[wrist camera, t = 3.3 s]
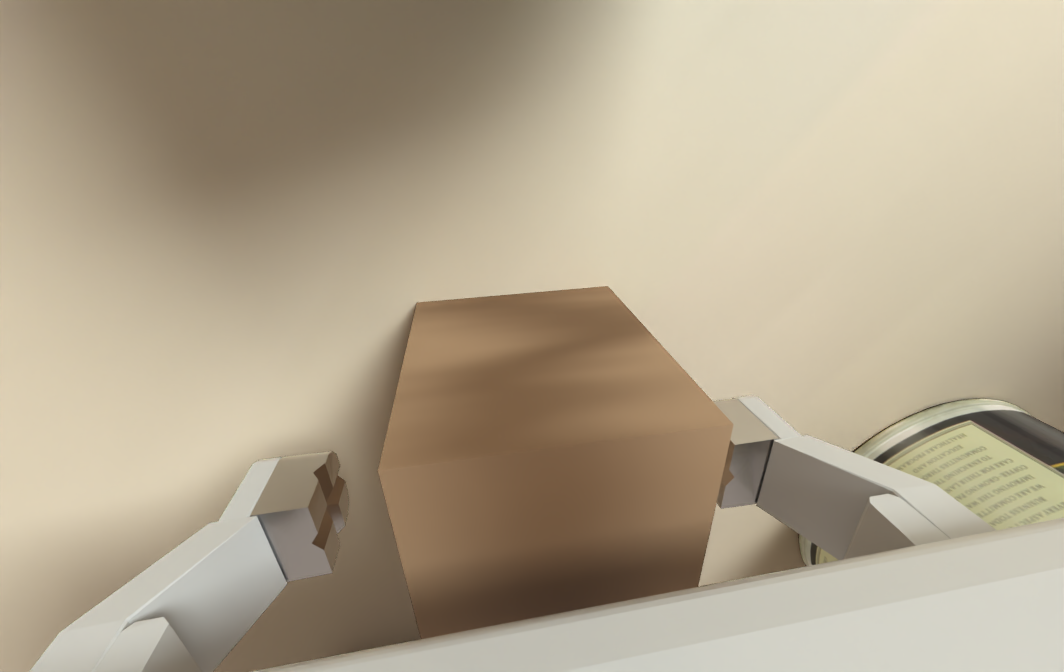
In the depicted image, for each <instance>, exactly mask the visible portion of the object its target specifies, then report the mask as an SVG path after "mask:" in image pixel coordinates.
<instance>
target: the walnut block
mask: <svg viewBox="0 0 1064 672" xmlns="http://www.w3.org/2000/svg"><path fill="white" fill-rule="evenodd" d="M733 425H734V424H733V423H732V422H731V421H730V420H729V419H728V418H727V417H726V416H725V414H724V413H723V412H722V411H721V410H720V409H719V408H718V407H717V406H716V405H715V403H714V402H713V401H712V400H711V399H710V398H709V397H708V396H707V395H706V394H705V392H704V391H703V390H702V389H701V388H700V387H699V386H698V385H697V384H696V383H695V381H694V380H693V379H692V378H691V377H690V376H689V375H688V374H687V373H686V372H685V370H684V369H683V368H682V367H681V366H680V365H679V364H678V363H677V362H676V361H675V359H674V358H673V357H672V356H671V355H670V354H669V353H668V352H667V351H666V350H665V348H664V347H663V346H662V345H661V344H660V343H659V342H658V341H657V340H656V339H655V337H654V336H653V335H652V334H651V333H650V332H649V331H648V330H647V329H646V328H645V326H644V325H643V324H642V323H641V322H640V321H639V320H638V319H637V318H636V317H635V316H634V314H633V313H632V312H631V311H630V310H629V309H628V308H627V307H626V306H625V305H624V303H623V302H622V301H621V300H620V299H619V298H618V297H617V296H616V295H615V294H614V292H613V291H612V290H611V289H610V288H609V287H608V286H605V287H593V288H581V289H570V290H558V291H547V292H535V293H523V294H512V295H500V296H489V297H477V298H465V299H454V300H442V301H431V302H419V303H417V304H416V309H415V313H414V317H413V322H412V326H411V330H410V335H409V339H408V343H407V347H406V352H405V356H404V360H403V365H402V369H401V373H400V377H399V382H398V386H397V390H396V395H395V399H394V403H393V408H392V412H391V416H390V420H389V425H388V429H387V433H386V438H385V442H384V446H383V450H382V455H381V459H380V463H379V468H378V474H379V477H380V481H381V485H382V489H383V493H384V497H385V501H386V505H387V509H388V513H389V516H390V520H391V524H392V528H393V532H394V536H395V540H396V544H397V548H398V551H399V555H400V559H401V563H402V567H403V571H404V575H405V579H406V583H407V587H408V590H409V594H410V598H411V602H412V606H413V610H414V614H415V618H416V622H417V625H418V629H419V633H420V637H421V639H425V638H430V637H435V636H441V635H446V634H451V633H457V632H462V631H467V630H472V629H478V628H483V627H488V626H494V625H499V624H504V623H510V622H515V621H520V620H525V619H531V618H536V617H541V616H547V615H552V614H557V613H562V612H568V611H573V610H578V609H584V608H589V607H594V606H600V605H605V604H610V603H615V602H621V601H626V600H631V599H637V598H642V597H647V596H652V595H658V594H663V593H668V592H673V591H679V590H684V589H689V588H694V587H698V585H699V580H700V575H701V571H702V566H703V562H704V557H705V553H706V548H707V543H708V539H709V534H710V530H711V525H712V521H713V516H714V511H715V507H716V502H717V498H718V493H719V489H720V484H721V480H722V475H723V470H724V466H725V461H726V457H727V452H728V448H729V443H730V438H731V434H732V429H733Z"/></svg>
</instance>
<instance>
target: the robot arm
mask: <svg viewBox="0 0 1064 672" xmlns="http://www.w3.org/2000/svg"><path fill="white" fill-rule="evenodd" d="M713 402H714V403H715V405H716V406H717V407H718V408H719V409H720V410H721V411H722V412H723V413H724V414H725V416H726V417H727V418H728V419H729V420H730V421H731V422H732V423H733V424H734V425H733V429H732V434H731V438H730V443H729V448H728V452H727V457H726V461H725V466H724V470H723V475H722V480H721V484H720V489H719V493H718V498H717V504H718V505H719V507H720V508H729V507H736V506H744V505H751V504H757V505H756V506H758V507H759V508H761V509H762V510H764V511H765V512H767V513H768V514H770V515H771V516H773V517H774V518H776V519H777V520H779V521H780V522H782V523H783V524H785V525H787V526H788V527H790V528H791V529H793V530H794V531H796V532H797V533H799V534H800V535H802V536H803V537H805V538H806V539H808V540H809V541H811V542H812V543H814V544H815V545H817V546H818V547H820V548H821V549H823V550H824V551H826V552H827V553H829V554H830V555H832V556H833V557H835V558H836V559H838V560H837V561H832V562H826V563H821V564H816V565H810V566H805V567H800V568H795V569H789V570H784V571H779V572H773V573H768V574H763V575H757V576H752V577H747V578H742V579H736V580H731V581H726V582H721V583H715V584H710V585H705V586H700V587H694V588H689V589H684V590H679V591H673V592H668V593H663V594H658V595H652V596H647V597H642V598H637V599H631V600H626V601H621V602H615V603H610V604H605V605H600V606H594V607H589V608H584V609H578V610H573V611H568V612H562V613H557V614H552V615H547V616H541V617H536V618H531V619H525V620H520V621H515V622H510V623H504V624H499V625H494V626H488V627H483V628H478V629H472V630H467V631H462V632H457V633H451V634H446V635H441V636H435V637H430V638H425V639H420V640H414V641H409V642H404V643H399V644H393V645H388V646H383V647H377V648H372V649H367V650H362V651H356V652H351V653H346V654H340V655H335V656H330V657H325V658H319V659H314V660H309V661H304V662H298V663H293V664H288V665H282V666H277V667H272V668H267V669H261V670H256V671H251V672H1064V518H1059V519H1054V520H1049V521H1043V522H1038V523H1033V524H1028V525H1022V526H1017V527H1012V528H1006V529H1001V530H996V529H994V528H993V527H992V526H990V525H989V524H988V523H986V522H985V521H984V520H982V519H981V518H980V517H978V516H977V515H976V514H974V513H973V512H972V511H970V510H969V509H968V508H966V507H965V506H964V505H962V504H961V503H960V502H958V501H957V500H956V499H954V498H953V497H952V496H950V495H949V494H947V493H946V492H945V491H943V490H942V489H941V488H939V487H938V486H937V485H935V484H933V483H930V482H928V481H925V480H923V479H920V478H918V477H915V476H912V475H910V474H907V473H905V472H902V471H900V470H897V469H894V468H892V467H889V466H887V465H884V464H881V463H879V462H876V461H874V460H871V459H869V458H866V457H863V456H861V455H858V454H856V453H853V452H851V451H848V450H845V449H843V448H840V447H838V446H835V445H832V444H830V443H827V442H825V441H822V440H820V439H817V438H814V437H812V436H809V435H805V436H801V435H800V434H799V433H798V432H797V431H796V430H795V429H794V428H792V427H791V426H790V425H789V424H788V423H787V422H786V421H785V420H783V419H782V418H781V417H780V416H779V415H778V414H777V413H776V412H774V411H773V410H772V409H771V408H770V407H769V406H768V405H766V404H765V403H764V402H763V401H762V400H761V399H760V398H759V397H757V396H754V395H747V396H741V397H735V398H732V399H725V400H718V401H713ZM339 468H340V463H339V460H338V457H337V454H336V453H334V452H333V451H329V452H319V453H310V454H301V455H292V456H284V457H277V458H268V459H260V460H258V461H256V462H254V463H253V464H252V466H251V467H250V469H249V471H248V472H247V474H246V476H245V477H244V479H243V481H242V482H241V484H240V486H239V487H238V489H237V491H236V492H235V494H234V496H233V497H232V499H231V500H230V502H229V504H228V505H227V507H226V509H225V510H224V512H223V514H222V515H221V517H220V519H219V520H218V522H212V523H209V524H207V525H206V526H204V527H203V528H202V529H200V530H199V531H198V532H196V533H195V534H194V535H192V536H191V537H189V538H188V539H187V540H185V541H184V542H183V543H181V544H180V545H178V546H177V547H176V548H174V549H173V550H172V551H170V552H169V553H168V554H166V555H165V556H163V557H162V558H161V559H159V560H158V561H157V562H155V563H154V564H152V565H151V566H150V567H148V568H147V569H146V570H144V571H143V572H141V573H140V574H139V575H137V576H136V577H135V578H133V579H132V580H131V581H129V582H128V583H126V584H125V585H124V586H122V587H121V588H120V589H118V590H117V591H115V592H114V593H113V594H111V595H110V596H109V597H107V598H106V599H104V600H103V601H102V602H100V603H99V604H98V605H96V606H95V607H94V608H92V609H91V610H89V611H88V612H87V613H85V614H84V615H83V616H81V617H80V618H78V619H77V620H76V621H74V622H73V623H72V624H70V625H69V626H68V627H66V628H65V629H63V630H62V631H61V632H60V633H59V634H58V635H57V636H56V638H55V639H54V640H53V642H52V643H51V644H50V645H49V647H48V648H47V649H46V651H45V652H44V653H43V654H42V656H41V657H40V658H39V659H38V661H37V662H36V663H35V665H34V666H33V667H32V668H31V670H30V671H29V672H213V671H214V670H215V669H216V668H217V667H218V665H219V664H220V663H221V662H222V661H223V659H224V658H225V657H226V656H227V655H228V654H229V652H230V651H231V650H232V649H233V648H234V646H235V645H236V644H237V643H238V642H239V641H240V639H241V638H242V637H243V636H244V635H245V634H246V632H247V631H248V630H249V629H250V628H251V626H252V625H253V624H254V623H255V622H256V621H257V619H258V618H259V617H260V616H261V615H262V614H263V612H264V611H265V610H266V609H267V608H268V606H269V605H270V604H271V603H272V602H273V601H274V599H275V598H276V597H277V596H278V595H279V594H280V592H281V591H282V590H283V589H284V588H285V586H286V585H287V582H289V581H294V580H299V579H304V578H309V577H314V576H320V575H325V574H330V573H332V572H333V569H334V565H335V562H336V558H337V554H338V551H339V547H340V541H339V538H338V535H337V534H338V533H339V532H340V531H341V530H342V529H343V528H344V527H345V525H346V521H347V517H348V510H349V496H348V489H347V485H346V482H345V481H344V480H343V479H342V478H340V477H339V476H337V474H338V471H339Z"/></svg>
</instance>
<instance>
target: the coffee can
mask: <svg viewBox="0 0 1064 672" xmlns="http://www.w3.org/2000/svg"><path fill="white" fill-rule="evenodd" d="M853 453H856V454H858V455H861V456H863V457H866V458H869V459H871V460H874V461H876V462H879V463H881V464H884V465H887V466H889V467H892V468H894V469H897V470H900V471H902V472H905V473H907V474H910V475H912V476H915V477H918V478H920V479H923V480H925V481H928V482H930V483H933V484H935V485H937V486H938V487H939V488H941V489H942V490H943V491H945V492H946V493H947V494H949V495H950V496H952V497H953V498H954V499H956V500H957V501H958V502H960V503H961V504H962V505H964V506H965V507H966V508H968V509H969V510H970V511H972V512H973V513H974V514H976V515H977V516H978V517H980V518H981V519H982V520H984V521H985V522H986V523H988V524H989V525H990V526H992V527H993V528H994V529H996V530H1001V529H1006V528H1012V527H1017V526H1022V525H1028V524H1033V523H1038V522H1043V521H1049V520H1054V519H1059V518H1064V433H1063V432H1061V431H1059V430H1057V429H1056V428H1054V427H1052V426H1050V425H1048V424H1046V423H1044V422H1042V421H1040V420H1038V419H1036V418H1034V417H1032V416H1031V415H1030V414H1029V413H1028V412H1026V411H1024V410H1023V409H1021V408H1020V407H1018V406H1016V405H1014V404H1011V403H1008V402H1005V401H1000V400H994V399H966V400H960V401H954V402H950V403H945V404H941V405H938V406H935V407H931V408H928V409H926V410H924V411H921V412H919V413H917V414H914V415H912V416H909V417H907V418H905V419H903V420H901V421H899V422H897V423H895V424H893V425H891V426H890V427H888V428H887V429H885V430H883V431H882V432H880V433H879V434H878V435H876V436H875V437H873V438H872V439H870V440H869V441H868V442H866V443H865V444H864V445H862V446H861V447H860V448H858V449H857V450H856V451H854V452H853ZM799 544H800V551H801V555H802V558H803V561H804V563H805V564H806V566H810V565H816V564H821V563H826V562H832V561H837V560H838V559H836V558H835V557H833V556H832V555H830V554H829V553H827V552H826V551H824V550H823V549H821V548H820V547H818V546H817V545H815V544H814V543H812V542H811V541H809V540H808V539H806V538H805V537H803V536H802V535H799Z"/></svg>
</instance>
